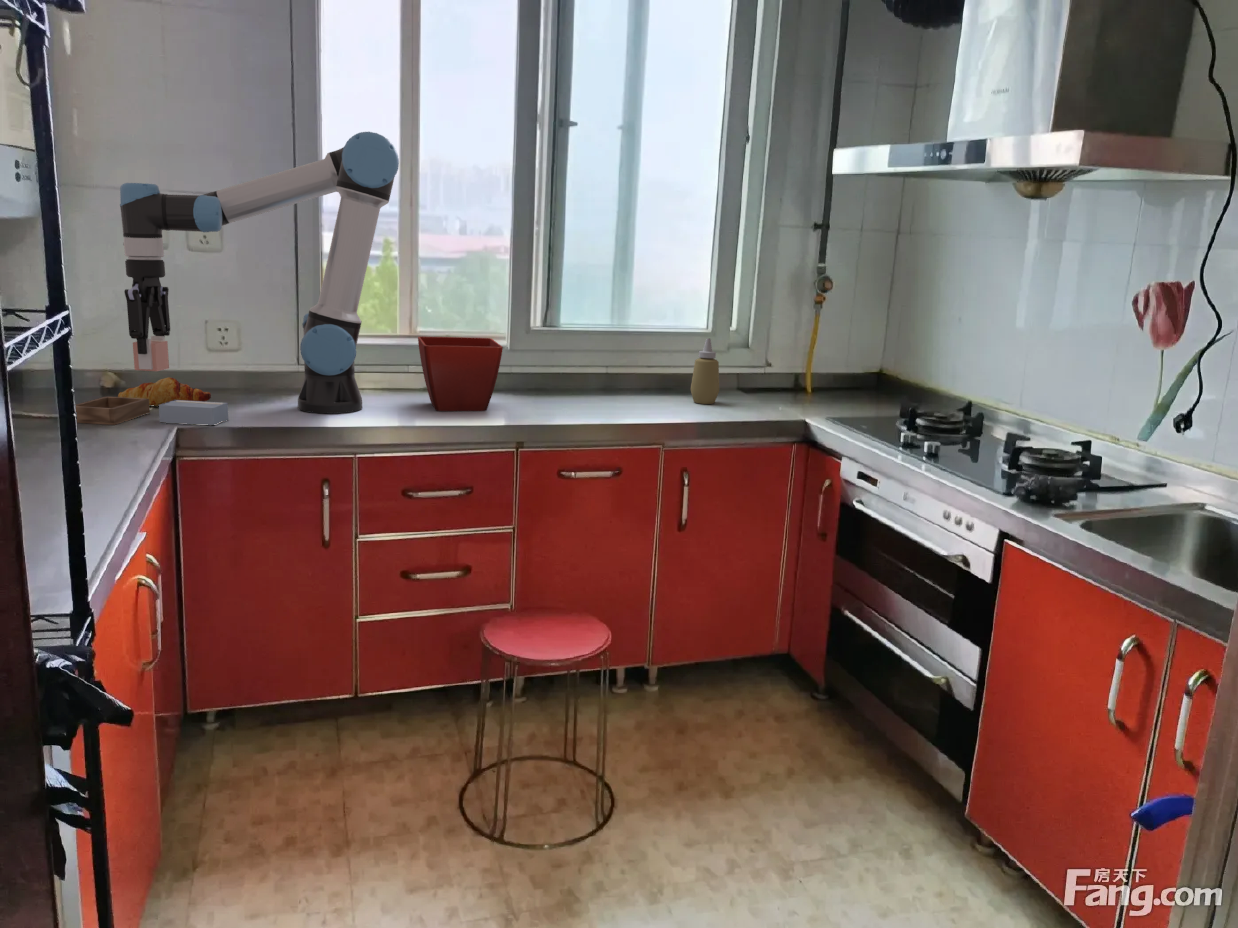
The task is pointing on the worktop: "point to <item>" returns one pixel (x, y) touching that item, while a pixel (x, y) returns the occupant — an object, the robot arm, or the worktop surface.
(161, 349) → the pink block
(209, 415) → the grey flat block
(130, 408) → the tray
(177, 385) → the croissant
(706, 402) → the squeeze bottle
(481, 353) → the plant pot
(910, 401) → the worktop surface
